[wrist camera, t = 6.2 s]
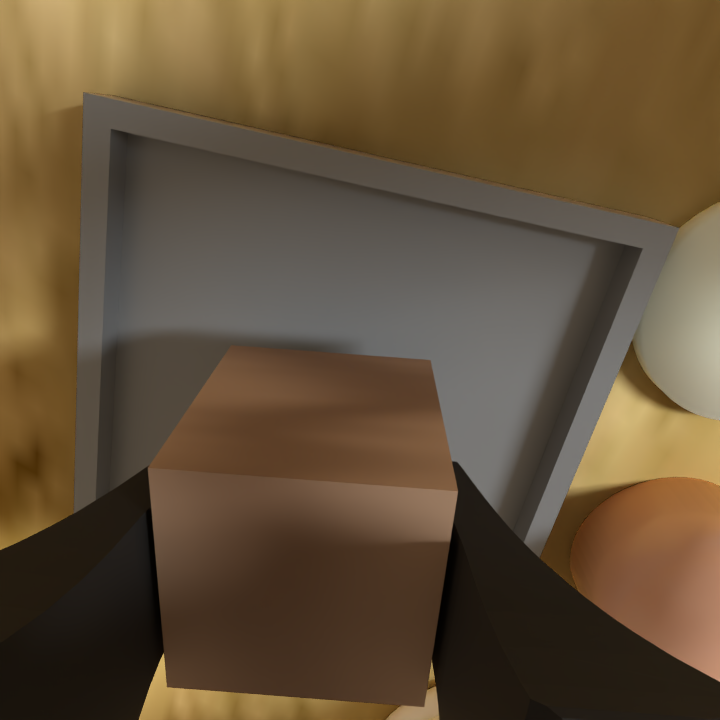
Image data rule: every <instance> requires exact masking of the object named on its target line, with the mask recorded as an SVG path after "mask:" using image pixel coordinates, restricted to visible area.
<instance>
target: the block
mask: <svg viewBox="0 0 720 720" xmlns="http://www.w3.org/2000/svg"><path fill="white" fill-rule="evenodd" d="M148 476H149V487H150V498H151V510H152V521H153V533H154V544H155V555H156V567H157V578H158V589H159V601H160V612H161V623H162V635H163V646H164V658H165V669H166V680H167V687H172V688H184V689H197V690H210V691H223V692H236V693H249V694H261V695H274V696H287V697H300V698H313V699H326V700H338V701H351V702H364V703H377V704H390V705H403V706H415V707H424V706H425V699H426V693H427V686H428V680H429V674H430V667H431V661H432V655H433V648H434V642H435V635H436V629H437V623H438V616H439V610H440V604H441V597H442V591H443V584H444V578H445V572H446V565H447V559H448V552H449V546H450V540H451V533H452V527H453V521H454V514H455V508H456V501H457V495H458V489H457V484H456V479H455V474H454V470H453V465H452V460H451V455H450V450H449V446H448V441H447V436H446V431H445V427H444V422H443V417H442V412H441V408H440V403H439V398H438V393H437V389H436V384H435V379H434V374H433V370H432V365H431V360H424V359H410V358H397V357H383V356H370V355H356V354H343V353H329V352H316V351H302V350H289V349H275V348H262V347H248V346H235V345H231V346H230V348H229V349H228V351H227V352H226V354H225V355H224V357H223V358H222V360H221V361H220V363H219V364H218V365H217V367H216V368H215V370H214V371H213V373H212V374H211V376H210V377H209V379H208V380H207V382H206V383H205V385H204V386H203V387H202V389H201V390H200V392H199V393H198V395H197V396H196V398H195V399H194V401H193V402H192V404H191V405H190V407H189V408H188V410H187V411H186V412H185V414H184V415H183V417H182V418H181V420H180V421H179V423H178V424H177V426H176V427H175V429H174V430H173V432H172V433H171V435H170V436H169V437H168V439H167V440H166V442H165V443H164V445H163V446H162V448H161V449H160V451H159V452H158V454H157V455H156V457H155V458H154V460H153V461H152V462H151V464H150V465H149V467H148Z"/></svg>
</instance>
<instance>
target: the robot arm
mask: <svg viewBox="0 0 720 720" xmlns="http://www.w3.org/2000/svg"><path fill="white" fill-rule="evenodd" d="M452 465H453V470H454V474H455V479H456V484H457V489H458V495H457V501H456V508H455V514H454V521H453V527H452V533H451V540H450V546H449V552H448V559H447V565H446V572H445V578H444V584H443V591H442V597H441V604H440V610H439V616H438V623H437V629H436V635H435V642H434V648H433V655H432V663H433V669H434V676H435V682H436V691H437V699H438V710H439V720H720V682H719V681H718V680H716V679H714V678H712V677H710V676H708V675H706V674H705V673H703V672H701V671H699V670H697V669H695V668H694V667H692V666H690V665H688V664H686V663H684V662H682V661H681V660H679V659H677V658H675V657H673V656H672V655H670V654H668V653H667V652H665V651H664V650H662V649H660V648H659V647H657V646H656V645H654V644H652V643H651V642H649V641H648V640H646V639H644V638H643V637H641V636H640V635H638V634H636V633H635V632H633V631H632V630H630V629H629V628H627V627H626V626H624V625H623V624H621V623H620V622H618V621H617V620H616V619H614V618H613V617H611V616H610V615H609V614H607V613H606V612H604V611H603V610H602V609H600V608H599V607H598V606H596V605H595V604H594V603H592V602H591V601H590V600H588V599H587V598H586V597H584V596H583V595H582V594H580V593H579V592H578V591H577V590H575V589H574V588H573V587H572V586H570V585H569V584H568V583H567V582H566V581H565V580H563V579H562V578H561V577H560V576H559V575H558V574H557V573H555V572H554V571H553V570H552V569H551V568H550V567H549V566H547V565H546V564H545V563H544V562H543V561H542V560H541V559H540V558H539V557H538V556H537V555H536V554H535V553H534V552H532V551H531V549H530V548H529V547H528V546H527V545H526V544H525V543H524V542H523V541H522V540H521V539H520V538H519V537H518V536H517V535H516V534H515V533H514V532H513V531H512V530H511V529H510V527H509V526H508V525H507V524H506V523H505V522H504V520H503V519H502V518H501V517H500V516H499V514H498V513H497V512H496V511H495V510H494V509H493V507H492V506H491V505H490V504H489V502H488V501H487V500H486V499H485V497H484V496H483V495H482V493H481V492H480V491H479V490H478V488H477V487H476V486H475V484H474V483H473V482H472V480H471V479H470V478H469V476H468V475H467V474H466V472H465V471H464V470H463V468H462V467H461V466H460V464H459V463H458V462H455V461H452ZM148 467H149V466H147V467H146V468H144V469H143V470H141V471H140V472H138V473H137V474H135V475H134V476H133V477H131V478H130V479H128V480H127V481H125V482H124V483H122V484H121V485H119V486H118V487H116V488H115V489H113V490H112V491H110V492H108V493H107V494H105V495H103V496H102V497H100V498H99V499H97V500H95V501H94V502H92V503H90V504H89V505H87V506H86V507H84V508H82V509H81V510H79V511H77V512H76V513H74V514H72V515H70V516H69V517H67V518H65V519H63V520H61V521H60V522H58V523H56V524H54V525H52V526H50V527H48V528H46V529H44V530H42V531H40V532H38V533H36V534H34V535H32V536H30V537H28V538H26V539H24V540H22V541H20V542H18V543H16V544H13V545H11V546H9V547H6V548H4V549H2V550H0V720H138V719H139V717H140V714H141V711H142V708H143V705H144V702H145V699H146V696H147V693H148V690H149V687H150V684H151V682H152V679H153V677H154V674H155V672H156V669H157V667H158V664H159V662H160V659H161V657H162V655H163V653H164V646H163V635H162V623H161V612H160V601H159V589H158V578H157V567H156V555H155V544H154V533H153V521H152V510H151V498H150V487H149V476H148Z"/></svg>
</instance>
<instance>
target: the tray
mask: <svg viewBox="0 0 720 720" xmlns="http://www.w3.org/2000/svg"><path fill="white" fill-rule="evenodd" d="M678 230H679V228H678V227H675V226H672V225H670V224H667V223H664V222H661V221H658V220H655V219H652V218H649V217H645V216H641V215H636V214H632V213H627V212H623V211H619V210H614V209H610V208H605V207H601V206H597V205H592V204H588V203H584V202H579V201H575V200H570V199H566V198H562V197H557V196H553V195H548V194H544V193H540V192H535V191H531V190H526V189H522V188H518V187H513V186H509V185H505V184H500V183H496V182H491V181H487V180H483V179H478V178H474V177H469V176H465V175H461V174H456V173H452V172H448V171H443V170H439V169H434V168H430V167H426V166H421V165H417V164H412V163H408V162H404V161H399V160H395V159H390V158H386V157H382V156H377V155H373V154H369V153H364V152H360V151H355V150H351V149H347V148H342V147H338V146H333V145H329V144H325V143H320V142H316V141H312V140H307V139H303V138H298V137H294V136H290V135H285V134H281V133H276V132H272V131H268V130H263V129H259V128H255V127H250V126H246V125H241V124H237V123H233V122H228V121H224V120H219V119H215V118H211V117H206V116H202V115H197V114H193V113H189V112H184V111H180V110H176V109H171V108H167V107H162V106H158V105H154V104H149V103H145V102H140V101H136V100H132V99H127V98H123V97H119V96H114V95H104V94H95V93H85V92H83V135H82V179H81V222H80V265H79V308H78V351H77V395H76V438H75V481H74V513H76V512H77V511H79V510H81V509H82V508H84V507H86V506H87V505H89V504H90V503H92V502H94V501H95V500H97V499H99V498H100V497H102V496H103V495H105V494H107V493H108V492H110V491H112V490H113V489H115V488H116V487H118V486H119V485H121V484H122V483H124V482H125V481H127V480H128V479H130V478H131V477H133V476H134V475H135V474H137V473H138V472H140V471H141V470H143V469H144V468H146V467H147V466H149V465H150V464H151V462H152V461H153V460H154V458H155V457H156V455H157V454H158V452H159V451H160V449H161V448H162V446H163V445H164V443H165V442H166V440H167V439H168V437H169V436H170V435H171V433H172V432H173V430H174V429H175V427H176V426H177V424H178V423H179V421H180V420H181V418H182V417H183V415H184V414H185V412H186V411H187V410H188V408H189V407H190V405H191V404H192V402H193V401H194V399H195V398H196V396H197V395H198V393H199V392H200V390H201V389H202V387H203V386H204V385H205V383H206V382H207V380H208V379H209V377H210V376H211V374H212V373H213V371H214V370H215V368H216V367H217V365H218V364H219V363H220V361H221V360H222V358H223V357H224V355H225V354H226V352H227V351H228V349H229V348H230V346H231V345H235V346H248V347H262V348H275V349H289V350H302V351H316V352H329V353H343V354H356V355H370V356H383V357H397V358H410V359H424V360H431V365H432V370H433V374H434V379H435V384H436V389H437V393H438V398H439V403H440V408H441V412H442V417H443V422H444V427H445V431H446V436H447V441H448V446H449V450H450V455H451V460H452V461H455V462H458V463H459V464H460V466H461V467H462V468H463V470H464V471H465V472H466V474H467V475H468V476H469V478H470V479H471V480H472V482H473V483H474V484H475V486H476V487H477V488H478V490H479V491H480V492H481V493H482V495H483V496H484V497H485V499H486V500H487V501H488V502H489V504H490V505H491V506H492V507H493V509H494V510H495V511H496V512H497V513H498V514H499V516H500V517H501V518H502V519H503V520H504V522H505V523H506V524H507V525H508V526H509V527H510V529H511V530H512V531H513V532H514V533H515V534H516V535H517V536H518V537H519V538H520V539H521V540H522V541H523V542H524V543H525V544H526V545H527V546H528V547H529V548H530V549H531V551H532V552H534V553H535V554H536V555H537V556H538V557H539V558H540V556H541V553H542V551H543V549H544V546H545V544H546V542H547V539H548V537H549V534H550V532H551V530H552V527H553V525H554V523H555V520H556V518H557V516H558V513H559V511H560V509H561V506H562V504H563V501H564V499H565V497H566V494H567V492H568V490H569V487H570V485H571V483H572V480H573V478H574V476H575V473H576V471H577V468H578V466H579V464H580V461H581V459H582V457H583V454H584V452H585V450H586V447H587V445H588V443H589V440H590V438H591V435H592V433H593V431H594V428H595V426H596V424H597V421H598V419H599V417H600V414H601V412H602V410H603V407H604V405H605V402H606V400H607V398H608V395H609V393H610V391H611V388H612V386H613V384H614V381H615V379H616V377H617V374H618V372H619V369H620V367H621V365H622V362H623V360H624V358H625V355H626V353H627V351H628V348H629V346H630V344H631V341H632V339H633V336H634V334H635V332H636V329H637V327H638V325H639V322H640V320H641V318H642V315H643V313H644V311H645V308H646V306H647V303H648V301H649V299H650V296H651V294H652V292H653V289H654V287H655V285H656V282H657V280H658V278H659V275H660V273H661V270H662V268H663V266H664V263H665V261H666V259H667V256H668V254H669V252H670V249H671V247H672V245H673V242H674V240H675V237H676V235H677V233H678Z"/></svg>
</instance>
